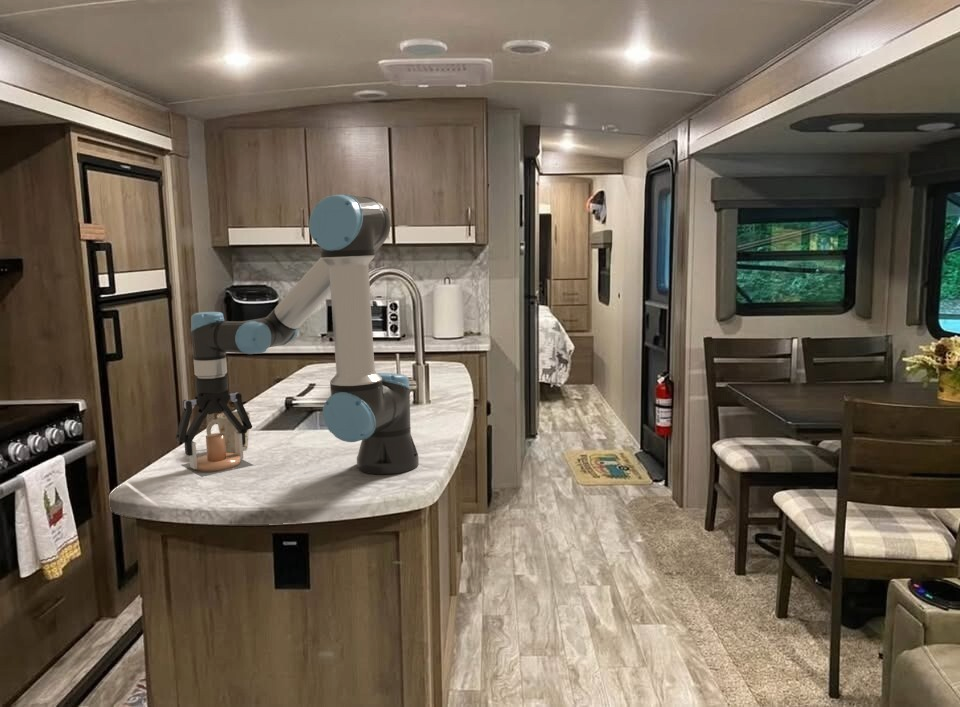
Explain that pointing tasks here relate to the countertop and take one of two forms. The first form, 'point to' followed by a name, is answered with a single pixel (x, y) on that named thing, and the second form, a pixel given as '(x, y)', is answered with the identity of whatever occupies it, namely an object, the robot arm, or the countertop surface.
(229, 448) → the mug
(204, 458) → the lid
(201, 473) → the mat
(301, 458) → the countertop surface
